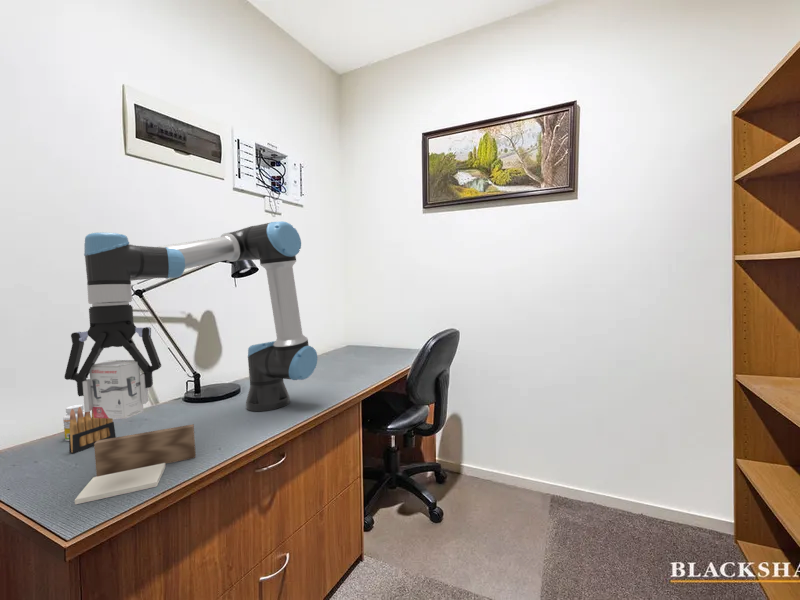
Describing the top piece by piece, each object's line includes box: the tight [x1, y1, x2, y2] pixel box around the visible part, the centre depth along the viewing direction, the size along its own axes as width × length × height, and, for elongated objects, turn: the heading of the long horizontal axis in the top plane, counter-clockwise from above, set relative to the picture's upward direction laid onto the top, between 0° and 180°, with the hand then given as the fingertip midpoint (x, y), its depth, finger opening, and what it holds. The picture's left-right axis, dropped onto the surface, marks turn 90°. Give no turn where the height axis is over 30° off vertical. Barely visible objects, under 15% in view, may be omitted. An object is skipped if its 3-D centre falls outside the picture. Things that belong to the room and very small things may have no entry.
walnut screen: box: [93, 424, 197, 477], centre depth 89 cm, size 20×2×8 cm, turn 114°
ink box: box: [89, 359, 145, 420], centre depth 80 cm, size 9×5×12 cm, turn 78°
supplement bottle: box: [63, 404, 85, 442], centre depth 111 cm, size 5×5×10 cm
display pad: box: [74, 463, 166, 506], centre depth 81 cm, size 14×10×1 cm
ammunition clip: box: [68, 407, 117, 455], centre depth 104 cm, size 11×2×12 cm, turn 159°
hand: (118, 406), depth 80 cm, fingers closed on ink box, 9 cm apart
